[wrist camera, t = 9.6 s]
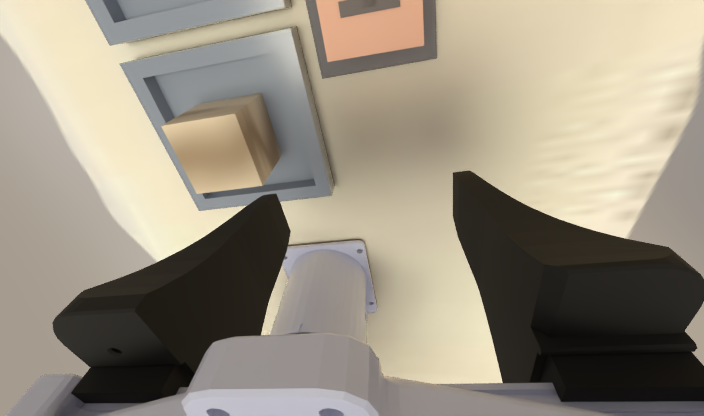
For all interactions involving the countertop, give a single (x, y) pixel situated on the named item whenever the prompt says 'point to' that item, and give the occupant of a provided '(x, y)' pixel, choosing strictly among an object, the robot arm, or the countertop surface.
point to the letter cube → (369, 26)
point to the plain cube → (225, 143)
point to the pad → (381, 58)
